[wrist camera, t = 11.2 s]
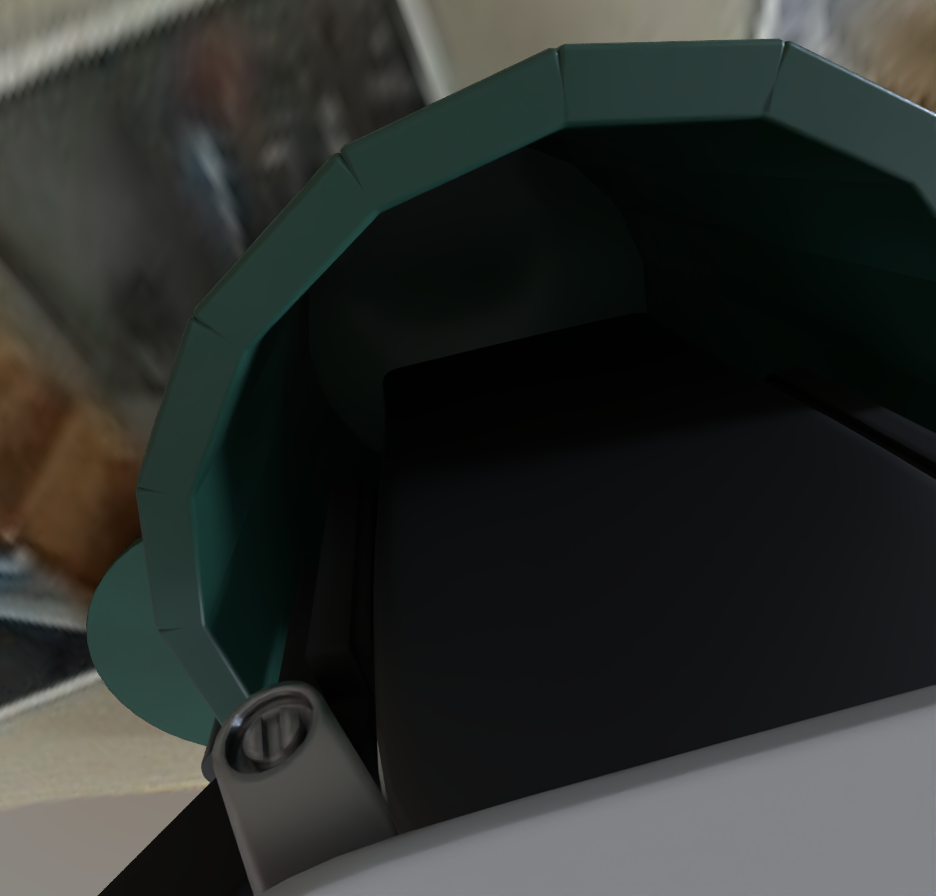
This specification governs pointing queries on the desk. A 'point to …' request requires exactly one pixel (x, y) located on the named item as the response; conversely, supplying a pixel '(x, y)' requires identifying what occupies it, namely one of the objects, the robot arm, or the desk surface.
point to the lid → (144, 656)
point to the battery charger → (625, 565)
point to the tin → (528, 289)
